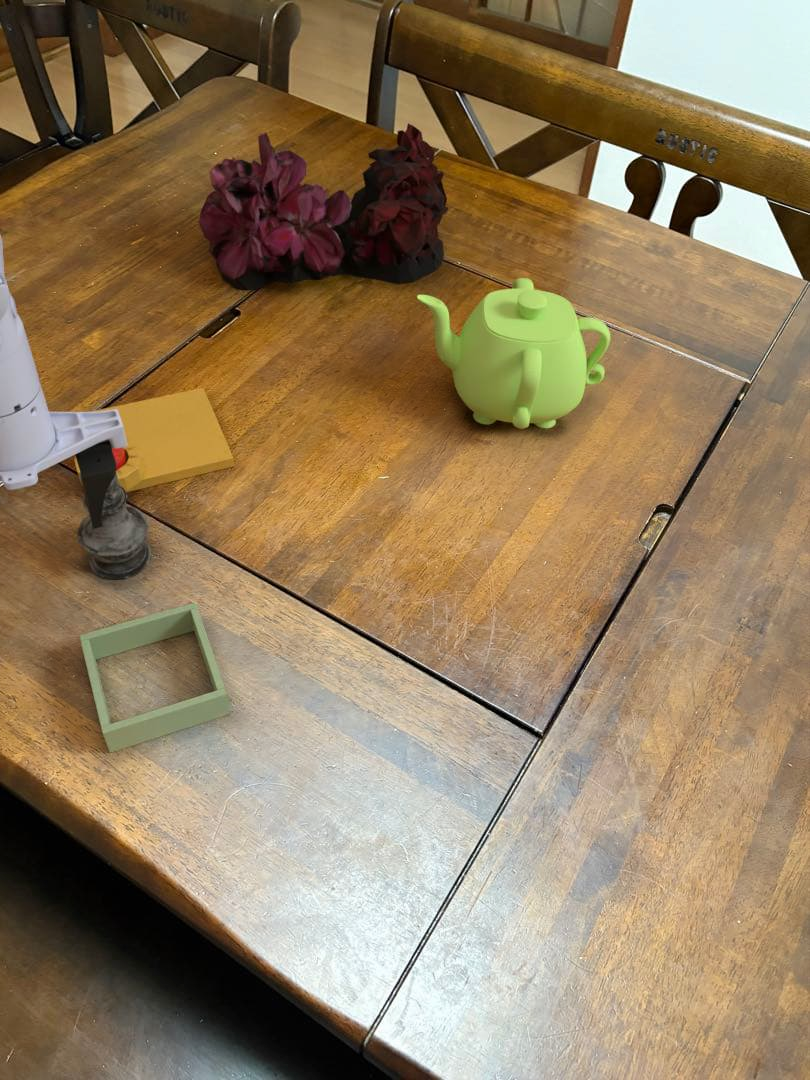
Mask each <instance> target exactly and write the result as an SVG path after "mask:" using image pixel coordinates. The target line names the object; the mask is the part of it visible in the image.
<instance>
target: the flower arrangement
mask: <svg viewBox="0 0 810 1080" xmlns="http://www.w3.org/2000/svg"><path fill="white" fill-rule="evenodd" d="M406 125H407V126H406V130H405V131H404V129H403V130H402V129H401V130H397V135H396V136H397V137H396V144H397V147H395V148H393V149H391V148H376V149H373V150H372V151H370V152H368V158H369V159H371V160H374V161H372V163H370V164H369V167H368V168H367V169H365V170H364V171H363V172H362V178H363V183H364V187H362V188H360V189H358V190H357V191H356V192H354V194H353V196H352V198H350V196H349V195H348V194H347V193H346V191H345V190H343V189H341V190H340V189H339V190H338V191H336V192H334V193H333V194H331V195H330V196H329V192H330V190H329V188H326V190H325V189H324V187H323V186H321V185H319V184H318V183H315V184H311V183H304V184H302V183H301V182H302V181H303V180H304V179H305V177H306V176H307V161H305V159H304V158H303V157H302V156H301V155H299V154H297V153H295V152H293V151H291V150H282V151H280V152H276V148H274V146H273V145H271V140H270V138H269V136H268V134H267V132H265V133H261V134H260V135H258V137H257V138H258V153H259V158H260V163H259V162H258V161H256V160H255V159H252V162H248V161H246V160H245V159H236V158H235V156H231V159H229V158H224V159H223V160H222V161H221V163H216V164H215V165H214V166H213V167H211V168H210V170H209V178H210V183H211V185H210V186H211V187H212V188H213V189H214V190H213V191H211V192H210V193H209V194H208V195H207V196H206V198H205V201H204V203H203V206H202V208H201V210H200V214H199V218H198V224H199V228H200V231H201V232H202V234H203V237H204V238H205V239H206V240H207V241H209V246H208V252H209V254H210V255H211V256H212V257H213V258H214V259H215V263H216V268H217V270H218V272H219V275H220V276H221V279H222V281H224V282H225V283H227V284H229V286H231V287H233V288H234V289H235V290H244V291H253V290H259V289H263V288H265V287H266V286H268V285H270V284H271V283H273V282H276V283H277V282H279V283H294V282H300V281H307V280H311V279H312V280H323V279H325V278H329V277H332V276H338V275H350V276H354V277H360V278H361V277H362V278H368V279H373V280H379V281H384V282H387V283H393V284H398V285H402V284H408V283H414V282H416V281H419V280H420V279H423V278H425V277H426V276H428V275H430V274H432V273H434V272H436V271H437V270H438V269H439V268H440V267H441V265H442V264H443V261H444V257H445V249H444V241H443V240H442V239H440V238H439V232H438V231H439V230H438V225H440V224H441V221H442V219H443V215H445V214H447V212H448V210H449V209H450V207H448V206H446V205H447V201H448V197H447V194H446V192H445V189H444V185H443V182H442V180H443V178H444V175H445V173H444V171H442V170H441V171H440V172H438V167H437V166H436V164H434V163H433V162H434V161H435V155H436V153H435V150H434V148H433V147H432V146H431V145H430V144H429V143H428V142H427V141H426V140H424V138H423V133H422V131H421V130H420V129H418V128H417V127H416V126H414V125H413V124H410V123H407V124H406Z"/></svg>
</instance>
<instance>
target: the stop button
mask: <svg viewBox="0 0 810 1080" xmlns="http://www.w3.org/2000/svg"><path fill="white" fill-rule="evenodd" d="M111 448H112V447H111ZM112 452H113V455H114V458H115V461H116V470H118V469H120V468H121V467H122V466H124V464H125V462H126V456H125V452H124V448H123V447H122V448H117V449H113V448H112Z"/></svg>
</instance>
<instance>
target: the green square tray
mask: <svg viewBox="0 0 810 1080" xmlns="http://www.w3.org/2000/svg"><path fill="white" fill-rule="evenodd" d="M192 632H194V634H195V638H196V640H197V643H198V647H199V649H200V652H201V655H202V658H203V661H204V664H205V667H206V671H207V673H208V676H209V679H210V682H211V685H212V688H213V691H211V692H208V693H204V694H202V695H198V696H195V697H192V698H188V699H185V700H182V701H179V702H176V703H173V704H170V705H166V706H164V707H159V708H157V709H154V710H151V711H147V712H144V713H141V714H137V715H134V716H131V717H129V718H125V719H121V720H118V721H116V722H112V721H111V716H110V712H109V708H108V704H107V699H106V696H105V692H104V689H103V683H102V679H101V677H100V676H101V675H100V672H99V671H100V670H99V668H98V663H97V660H100V659H103V658H106V657H109V656H113V655H117V654H120V653H124V652H126V651H130V650H133V649H137V648H140V647H144V646H147V645H150V644H154V643H158V642H160V641H161V642H162V641H164V640H168V639H172V638H174V637H177V636H178V637H179V636H181V635H185V634H189V633H192ZM78 637H79V641H80V645H81V649H82V653H83V657H84V658H83V659H84V662H85V667H86V670H87V675H88V679H89V683H90V686H91V691H92V694H93V695H92V696H93V699H94V700H93V701H94V703H95V707H96V712H97V716H98V722H99V724H100V730H101V733H102V736H103V738H104V741H105V744H106V746H107V750H108V752H109V753H110V754H112V753H114V752H117V751H120V750H121V751H122V750H124V749H127V748H130V747H132V746H136V745H140V744H142V743H145V742H148V741H151V740H154V739H158V738H160V737H163V736H167V735H170V734H173V733H177V732H180V731H182V730H185V729H188V728H192V727H195V726H198V725H200V724H203V723H207V722H210V721H213V720H217V719H219V718H223V717H225V716H228V715H230V714H231V709H230V704H229V698H228V692H227V689H226V686H225V684H224V681H223V678H222V676H221V675H222V674H221V673H220V669H219V666H218V663H217V660H216V658H215V657H216V656H215V655H214V652H213V649H212V646H211V642H210V640H209V637H208V634H207V632H206V628H205V625H204V622H203V619H202V617H201V613H200V610H199V608H198V606H197V602H192V603H188V604H184V605H180V606H177V607H174V608H170V609H166V610H163V611H160V612H156V613H152V614H149V615H146V616H142V617H138V618H135V619H132V620H128V621H124V622H121V623H118V624H114V625H110V626H107V627H103V628H100V629H96V630H93V631H89V632H86V633H83V634H79V636H78Z"/></svg>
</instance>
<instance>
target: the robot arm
mask: <svg viewBox="0 0 810 1080" xmlns="http://www.w3.org/2000/svg"><path fill="white" fill-rule="evenodd" d="M3 245H4V243H3V239H2V235H1V234H0V482H2V483H3V486H4V487H5V489H6V490H9V491H15V490H19V489H23V488H28V487H31V486H35V485H36V484H37V483H38V482H39V477H38V474H39V473H40V472H43V471H45V470H47V469H49V468H51V467H53V466H55V465H57V464H59V463H61V462H63V461H65V460H67V459H70V458H71V457H73V456H75V457H76V459H77V463H78V466H79V470H80V473H81V478H82V484H83V486H82V489H83V490H82V491H83V496H85V501H86V504H87V508H88V511H89V512H88V511H87V512H88V515H90V518H91V522H92V525H93V529H95V528H99V527H102V526H103V524H102V511H103V505H104V500H105V496H106V493H107V490H108V488H109V486H110V484H111V482H112V480H113V479H114V477H115V475H116V461H115V458H114V455H113V452H112V448H113V449H117V448H122V447H126V446H128V445H127V440H126V436H125V431H124V427H123V424H122V421H121V418H120V415H119V412H118V409H113V410H108V411H99V412H91V411H50V410H49V408H48V404H47V401H46V397H45V393H44V390H43V388H42V384H41V379H40V376H39V373H38V370H37V367H36V363H35V360H34V357H33V353H32V350H31V346H30V342H29V340H28V336H27V333H26V330H25V326H24V324H23V321H22V318H21V317H20V315H19V314H18V313H17V312H18V311H17V305H16V301H15V299H14V296H12V294H11V292H10V289H9V287H8V282H7V279H6V276H5V261H4V259H5V258H4V248H3V247H4V246H3ZM111 447H112V448H111Z"/></svg>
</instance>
